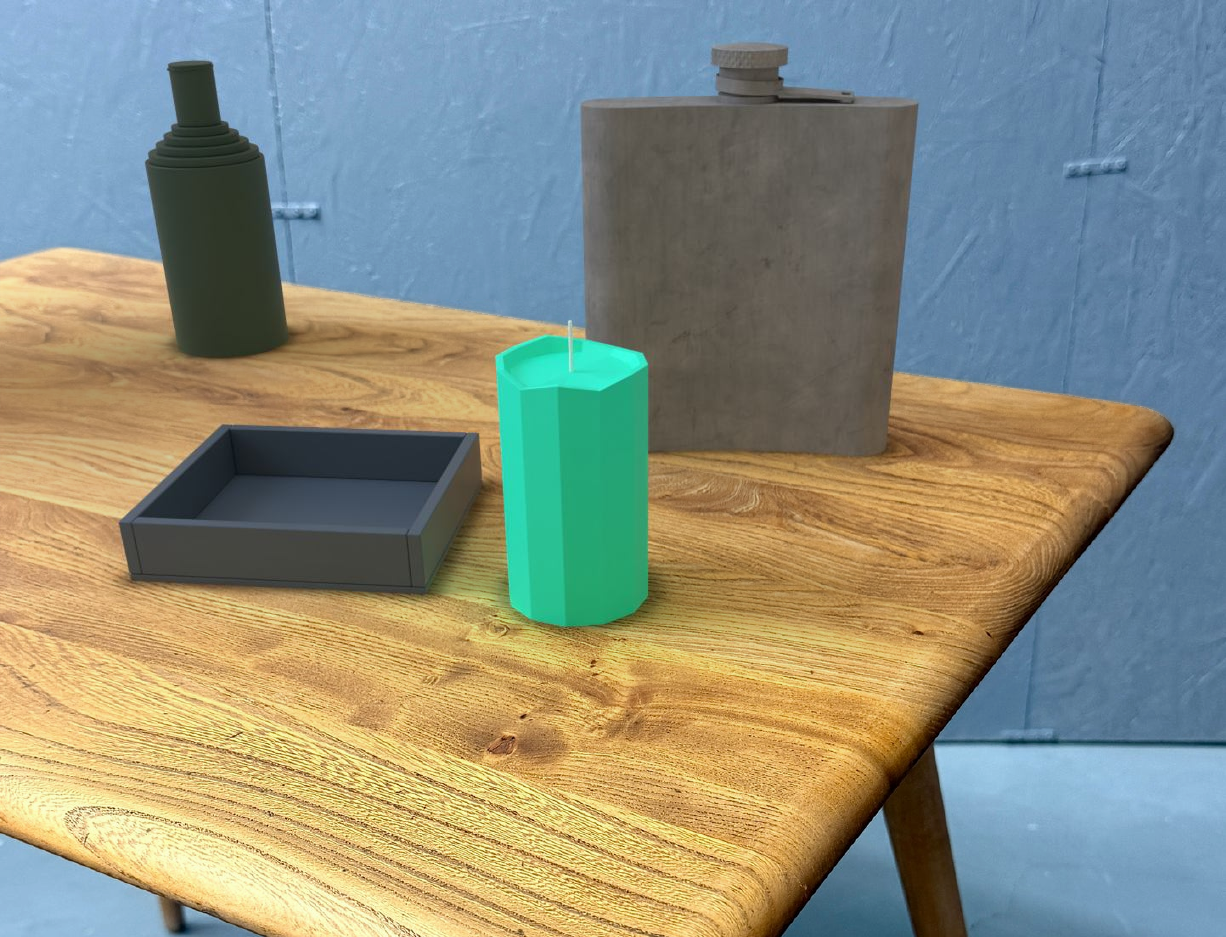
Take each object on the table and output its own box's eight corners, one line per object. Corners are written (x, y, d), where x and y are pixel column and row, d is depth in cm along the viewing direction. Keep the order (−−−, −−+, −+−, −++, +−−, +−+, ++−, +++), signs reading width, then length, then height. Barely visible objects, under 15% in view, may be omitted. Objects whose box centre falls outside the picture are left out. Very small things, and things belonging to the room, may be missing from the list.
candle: (489, 580, 57) (471, 309, 51) (617, 556, 59) (613, 292, 53) (534, 644, 52) (519, 353, 47) (671, 615, 54) (674, 332, 48)
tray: (131, 586, 57) (117, 521, 56) (231, 480, 67) (221, 423, 66) (426, 600, 56) (420, 534, 54) (483, 490, 66) (479, 432, 64)
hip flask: (585, 458, 69) (576, 49, 60) (591, 430, 73) (583, 40, 63) (889, 461, 68) (929, 46, 59) (880, 433, 72) (916, 38, 62)
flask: (160, 360, 85) (106, 70, 76) (203, 328, 91) (158, 56, 83) (267, 363, 84) (224, 70, 76) (303, 330, 90) (268, 56, 82)
